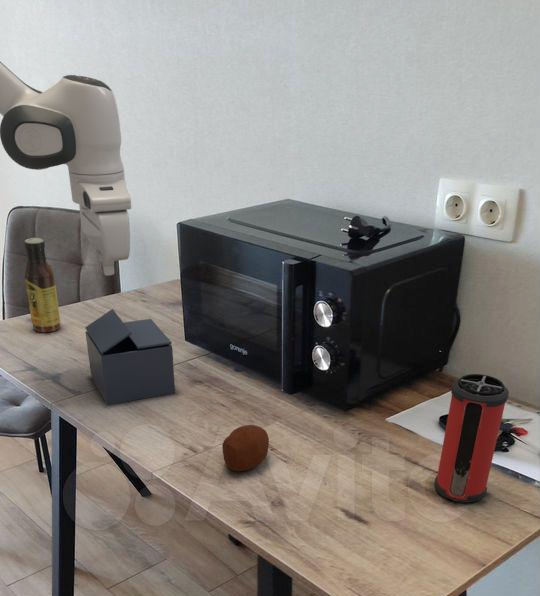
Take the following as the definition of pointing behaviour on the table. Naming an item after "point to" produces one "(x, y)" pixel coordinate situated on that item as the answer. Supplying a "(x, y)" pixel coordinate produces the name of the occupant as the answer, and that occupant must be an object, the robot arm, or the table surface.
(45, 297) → the sauce bottle
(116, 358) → the carton
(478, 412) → the speaker
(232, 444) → the potato
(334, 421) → the table surface
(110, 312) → the flap
